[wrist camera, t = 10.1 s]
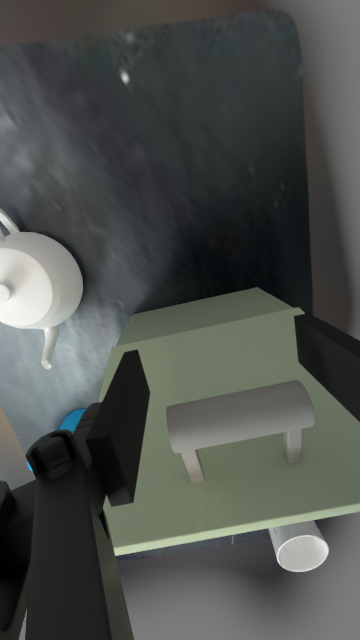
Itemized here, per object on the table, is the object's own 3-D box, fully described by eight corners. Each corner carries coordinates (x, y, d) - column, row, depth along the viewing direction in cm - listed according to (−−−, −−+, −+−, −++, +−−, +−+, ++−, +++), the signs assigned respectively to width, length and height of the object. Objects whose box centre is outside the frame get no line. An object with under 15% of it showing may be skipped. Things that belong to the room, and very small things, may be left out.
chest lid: (469, 492, 12) (530, 402, 9) (64, 565, 12) (-4, 505, 10) (298, 313, 26) (300, 256, 23) (114, 353, 27) (93, 302, 24)
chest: (269, 380, 43) (308, 437, 31) (157, 403, 44) (151, 467, 31) (257, 287, 38) (296, 309, 26) (132, 314, 39) (113, 348, 27)
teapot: (110, 336, 40) (90, 367, 30) (33, 355, 41) (-12, 392, 31) (60, 195, 34) (16, 178, 25) (-29, 220, 35) (-107, 213, 25)
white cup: (296, 473, 48) (326, 531, 39) (300, 505, 51) (330, 566, 41) (254, 482, 49) (273, 541, 39) (260, 513, 51) (280, 576, 42)
